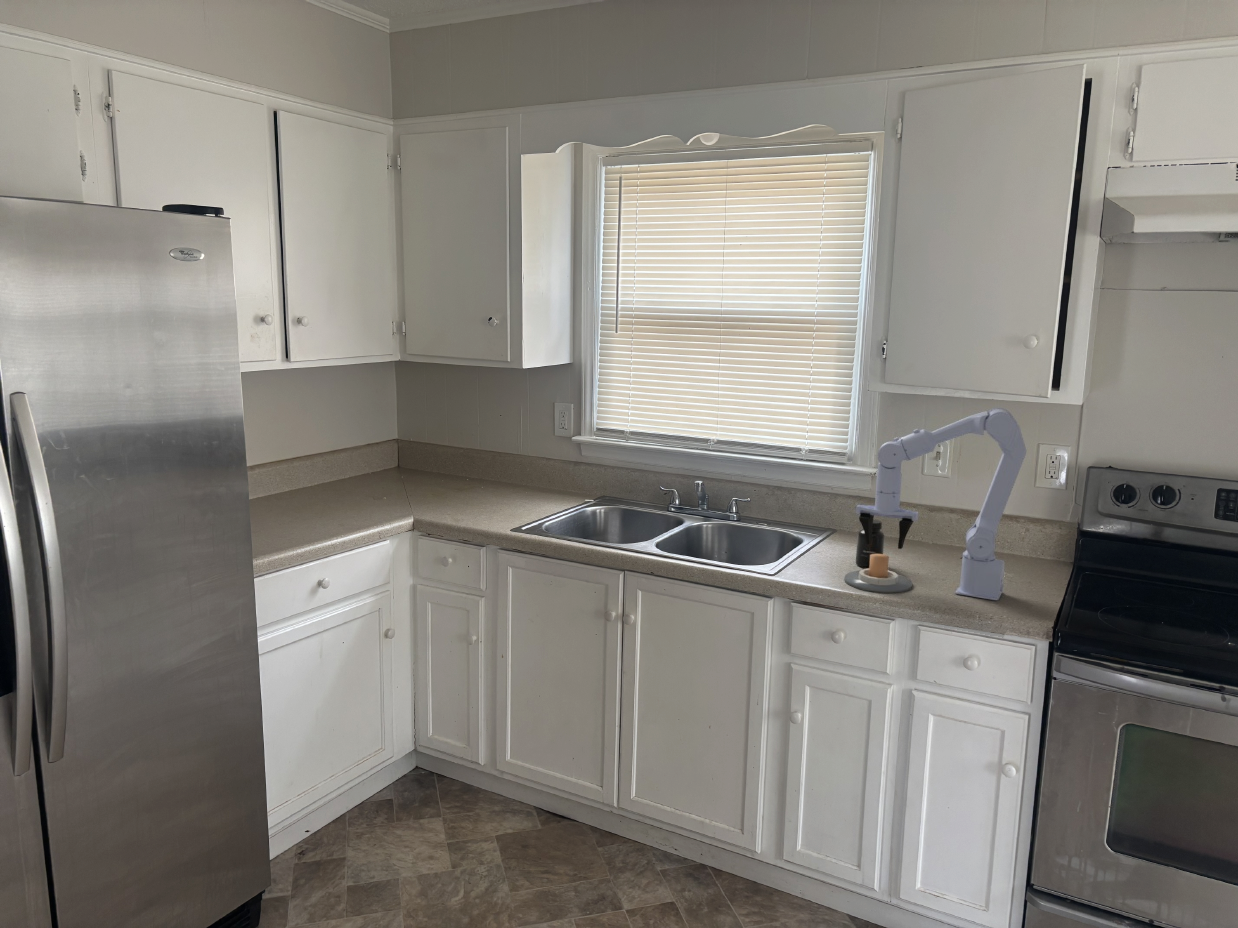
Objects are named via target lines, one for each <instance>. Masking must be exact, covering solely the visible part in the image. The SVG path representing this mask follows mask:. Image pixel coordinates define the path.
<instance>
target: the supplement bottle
mask: <svg viewBox="0 0 1238 928" xmlns="http://www.w3.org/2000/svg"><path fill="white" fill-rule="evenodd" d="M882 525H883V522H882V521H881V520H878V519H874V518H873V525H872V542H871V543H870V544H866V537H865V532H864V529H863V526H862V525H861V526H862V527H861V528H862V529H860V530H859V531H858V533H857V537H856V538H857V540H856V541H857V542H856V553H855V564H856V565H857V566H858V567H861V568H864V569H868V568H869V565H870V555H871V554H884V550H885V549H884V548H885V540H886V539H885V537H886V535H885V534H884V532H883V531H882V530H883V529H882Z"/></svg>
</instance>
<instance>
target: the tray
mask: <svg viewBox="0 0 1238 928" xmlns="http://www.w3.org/2000/svg"><path fill="white" fill-rule="evenodd" d="M843 580H844V582H845V583H846V585H848V586H850V587H852V588H855V589H857V590H862V591H865V592H871V593H879V594H880V593H882V594H896V593H897V594H898V593H903V592H907V591H909V590H911V589H912V587H913V581H912V580H911V579H910V578H908V577H907V576H904V575H901V574H898V573H896V572H895V571H892V570H889V569H888V576H887V578H876V577H870V576H869V568H864V569H863V568H862V569H860V570H854V571H850V572H847V573H845V575H844V579H843Z"/></svg>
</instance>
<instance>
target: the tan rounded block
mask: <svg viewBox="0 0 1238 928" xmlns="http://www.w3.org/2000/svg"><path fill="white" fill-rule="evenodd" d="M889 559H890V557H889V555H888V554H887V555H886V554H884V553H883V554H871V555H870V565H869V576H870V577H876V578H887V576H888V570H889Z"/></svg>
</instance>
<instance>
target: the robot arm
mask: <svg viewBox="0 0 1238 928" xmlns="http://www.w3.org/2000/svg"><path fill="white" fill-rule="evenodd" d="M985 431H986V433H987V434H988V435H989V436H990V438H992V439H993V440H994V441H995V442H996V443H997V444H998V446H999V448H1000V449H1001V451H1002V454H1001V457H1000V459H999V462H998V465H997V468H996V469H995V472H994V475H993V478H992V480H991V483H990V485H989V489H988V491H987V494H986V496H985V499H984V501H983V504H982V506H981V509H980V511H979V514H978V516H977V517H976V520H975V521H974V524H973V525H972V526H971V527H970V528H969V529H968V530H967V531H966V534H965V542H966V545H965V546H966V550H965V551H963V552H962V559H961V561H962V562H961V569H960V570H961V571H960V582H959V586H958V587H957V589H956V590H955V594H957V595H961V596H966V597H974V598H981V599H984V600H985V599H986V600H991V601H999V599H1000V598H1001V596H1002V594H1003V591H1004V577H1005V568H1006V567H1005V566H1006V564H1005V563H1006V562H1005V561H1004V560H1003V559H998V558H996V554H995V550H996V542H995V540H996V536H997V533H998V528H999V524H1000V521H1001V519H1002V517H1003V514H1004V513H1005V512H1004V511H1005V509H1006V506H1007V503H1008V501H1009V498H1010V496H1011V494H1012V491H1013V489H1014V486H1015V483H1016V480H1017V479H1018V476H1019V474H1020V470H1021V467H1022V466H1023V462H1024V460H1025V457H1026V455H1027V447H1026V445H1025V444H1026V443H1025V441H1024V438H1023V434H1022V432H1021V427H1020V425H1019V424H1018V422H1017V420H1016V419H1015V417H1014V416H1013V415H1012V413H1011V412H1010V411H1008V410H1007V409H1005V408H1002V407H995V408H992V409H990V410H989V411H987V410H986V411H982V412H979V413H975V414H971V415H969V416H967V417H964V418H962V419H960V420H956V421H954V422H952V423H949V424H948V425H944V426H942V427H940V428H938V429H935V430H933V431H930V430H928V429H925V428H923V429H920V428H915V429H914V430H913V431H912V433H909V434H906V435H905V436H902V437H898V436H897V437H894V438H893V440H894V441H891V440H890V441H887V442H885V443H883V444H882V445H881V446H880V447H879V450H878V452H877V460H878V463H877V473H876V483H875V498H874V501H875V502H874V505H867V504H866V505H862V504H857V505H856V506H855V507H856V508H855V514H857V515H859V516H858V519H859V522H860V524H861V526H863V527H862V529H864V532H865V537H866V544H870V543H871V542H872V525H873V519H874V517H876V516H877V517H882V518H883V517H884V518H893V519H900V520H899V522H898V527H899V528H898V529H899V530H898V531H899V532H898V533H899V535H898V543H897V549H898V550H901V549H903V547H904V544H905V540H906V538H907V535H908V533H909V531H910V528H911V527H912V525H913V523H914V522H917V521H918V519H919V511H913V510H907V509H903V508H900V503H901V501H900V500H901V491H902V490H901V489H902V462H903V461H910V460H914V459H916V458H920V457H921V456H924V455H928V454H930V453H933V452H934V451H935V449H936V446H937V445H938V444H941V443H944V442H946V441H947V442H948V441H951V440H953V439H956V438H959V437H962V436H965V435H968V434H975V435H980V436H984V435H985V434H984V433H985Z"/></svg>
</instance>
